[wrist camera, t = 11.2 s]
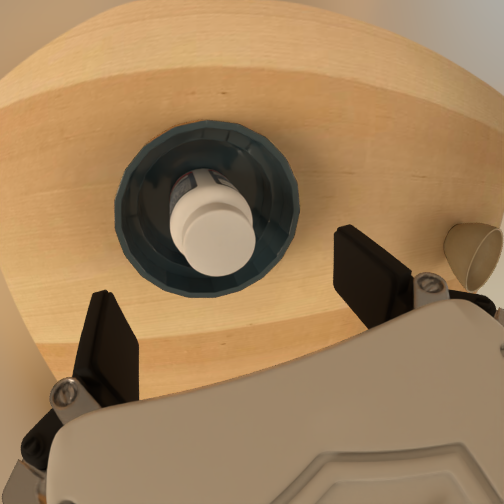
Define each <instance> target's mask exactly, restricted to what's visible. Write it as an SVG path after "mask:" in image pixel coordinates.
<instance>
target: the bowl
mask: <svg viewBox="0 0 504 504" xmlns="http://www.w3.org/2000/svg"><path fill="white" fill-rule="evenodd" d="M202 168H204V169H212V170H215V171H217V172H219V173H221V174H222V175H224V176H225V177H226V178H227V179H228V180H229V181H230V182H231V183H232V184H233V186H234V187H235V188H236V189H237V190H238V191H239V192H240V194H241V195H242V196H243V197H244V199H245V200H246V202H247V203H248V205H249V207H250V210H251V213H252V220H253V225H252V227H253V230H254V233H255V248H254V251H253V254H252V256H251V257H250V259H249V260H248V262H247V263H246V264H245V265H244V266H243V267H242V268H240V269H239V270H237V271H236V272H234V273H231V274H228V275H224V276H209V275H205V274H202V273H200V272H198V271H196V270H195V269H194V268H193V267H192V266H191V265H190V264H189V263H188V261H187V259H186V257H185V255H183V254H182V253H181V252H180V251H179V250H178V248H177V247H176V245H175V243H174V242H173V239H172V236H171V232H170V205H169V200H170V193H171V190H172V188H173V186H174V184H175V183H176V181H177V180H178V179H179V178H180V177H181V176H182V175H184V174H185V173H187V172H189V171H192V170H195V169H202ZM114 212H115V231H116V234H117V237H118V239H119V242H120V245H121V248H122V250H123V253H124V255H125V257H126V258H127V259H128V260H129V262H130V263H131V264H132V265H133V267H134V268H135V269H136V270H137V271H138V273H139V274H140V275H141V276H142V277H143V278H145V279H146V280H148V281H150V282H151V283H153V284H154V285H156V286H157V287H159V288H160V289H162V290H164V291H167V292H170V293H174V294H177V295H181V296H184V297H188V298H216V297H220V296H223V295H227V294H231V293H235V292H238V291H241V290H243V289H244V288H246V287H248V286H250V285H251V284H253V283H255V282H257V281H258V280H260V279H262V278H263V277H264V276H265V275H266V274H267V273H268V272H269V271H270V270H271V269H272V268H273V267H274V266H275V265H276V264H277V263H278V262H279V261H280V260H281V259H282V257H283V256H284V254H285V252H286V250H287V249H288V247H289V245H290V243H291V241H292V240H293V238H294V235H295V231H296V227H297V222H298V218H299V213H300V204H299V193H298V184H297V181H296V179H295V177H294V174H293V172H292V170H291V168H290V166H289V163H288V161H287V159H286V158H285V157H284V155H283V154H282V153H281V152H280V151H279V150H278V149H277V148H276V147H275V146H274V145H273V144H272V143H271V142H270V141H269V140H268V139H267V138H266V137H264V136H262V135H260V134H259V133H257V132H255V131H253V130H251V129H248V128H246V127H244V126H242V125H240V124H237V123H230V122H222V121H213V120H195V121H191V122H186V123H182V124H178V125H174V126H172V127H170V128H169V129H167V130H165V131H164V132H162V133H161V134H159V135H157V136H156V137H154V138H153V139H151V140H150V141H149V142H148V143H147V144H146V145H145V146H144V147H143V148H142V149H141V150H140V152H139V153H138V154H137V155H136V157H135V158H134V159H133V160H132V162H131V163H130V164H129V165H128V167H127V168H126V169H125V171H124V174H123V176H122V179H121V182H120V185H119V188H118V191H117V194H116V197H115V201H114Z"/></svg>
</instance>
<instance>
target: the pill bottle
mask: <svg viewBox="0 0 504 504" xmlns="http://www.w3.org/2000/svg"><path fill="white" fill-rule="evenodd" d="M169 205H170V232H171V236H172V239H173V242H174V243H175V245H176V247H177V248H178V250H179V251H180V252H181V253H182V254H183V255H185V257H186V259H187V261H188V263H189V264H190V265H191V266H192V267H193V268H194V269H195V270H196V271H198V272H200V273H202V274H205V275H209V276H224V275H228V274H231V273H234V272H236V271H237V270H239V269H240V268H242V267H243V266H244V265H245V264H246V263H247V262H248V260H249V259H250V257H251V256H252V254H253V251H254V248H255V233H254V230H253V227H252V225H253V220H252V213H251V210H250V207H249V205H248V203H247V202H246V200H245V199H244V197H243V196H242V195H241V194H240V192H239V191H238V190H237V189H236V188H235V187H234V186H233V184H232V183H231V182H230V181H229V180H228V179H227V178H226V177H225V176H224V175H222V174H221V173H219V172H217V171H215V170H212V169H204V168H202V169H195V170H192V171H189V172H187V173H185V174H184V175H182V176H181V177H180V178H179V179H178V180H177V181H176V183H175V184H174V186H173V188H172V190H171V193H170V200H169Z"/></svg>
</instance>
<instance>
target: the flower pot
mask: <svg viewBox="0 0 504 504" xmlns="http://www.w3.org/2000/svg"><path fill="white" fill-rule="evenodd" d="M502 247H503V234H502V231H501V230H500V229H499V228H496V227H494V226H491V225H487V224H482V223H463V224H458V225H455V226H454V227H453V228H452V229H451V230H450V231H449V233H448V235H447V237H446V239H445V243H444V252H445V255H446V258H447V260H448V263H449V265H450V267H451V269H452V271H453V273H454V274H455V276H456V278H457V279H458V280H459V282H460V283H461V284H462V286H463V287H464V288H465V289H466V290H467V291H468V292H469V293H473V292H475V291H477V290H479V289H480V288H481V287H482V286H483V285H484V284H485V283H486V282H487V280H488V279H489V278H490V276H491V275H492V273H493V271H494V269H495V267H496V265H497V263H498V261H499V258H500V255H501V252H502Z"/></svg>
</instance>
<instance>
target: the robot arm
mask: <svg viewBox="0 0 504 504" xmlns="http://www.w3.org/2000/svg"><path fill="white" fill-rule="evenodd" d="M411 272H412V271H411V270H410V269H409V268H407V267H406V266H405V265H404V264H402V263H401V262H400V261H399V260H397V259H396V258H395V257H394V256H392V255H391V254H390V253H389V252H387V251H386V250H385V249H383V248H382V247H381V246H379V245H378V244H377V243H375V242H374V241H373V240H371V239H370V238H369V237H367V236H366V235H365V234H363V233H362V232H361V231H359V230H358V229H357V228H355V227H354V226H353V225H351V224H349V225H345V226H342V227H338V228H337V231H336V232H335V233H334V271H333V285H334V288H335V290H336V291H337V293H338V294H339V295H340V296H341V297H342V298H343V300H344V301H345V302H346V303H347V304H348V306H349V307H350V308H351V309H352V310H353V311H354V313H355V314H356V315H357V316H358V317H359V319H360V320H361V321H362V322H363V323H364V325H365V326H366V327H367V328H368V329H369V330H367V331H364V332H362V333H360V334H357V335H355V336H353V337H350V338H348V339H345V340H343V341H340V342H338V343H335V344H333V345H330V346H328V347H325V348H323V349H320V350H317V351H315V352H312V353H309V354H307V355H304V356H301V357H298V358H295V359H293V360H290V361H287V362H284V363H281V364H278V365H275V366H272V367H269V368H266V369H262V370H259V371H256V372H253V373H249V374H246V375H243V376H239V377H236V378H232V379H229V380H225V381H222V382H218V383H214V384H210V385H206V386H202V387H198V388H194V389H190V390H186V391H182V392H177V393H172V394H168V395H163V396H159V397H154V398H149V399H144V400H139V344H138V341H137V339H136V337H135V335H134V333H133V331H132V330H131V328H130V326H129V324H128V322H127V320H126V318H125V317H124V315H123V313H122V311H121V309H120V307H119V305H118V303H117V301H116V299H115V297H114V295H113V293H112V292H109V293H108V291H107V290H103V291H99V292H95V293H93V294H92V297H91V301H90V304H89V308H88V311H87V315H86V319H85V323H84V327H83V330H82V333H81V337H80V342H79V346H78V350H77V355H76V360H75V365H74V370H73V375H72V377H66V378H63V379H61V380H60V381H58V382H57V383H56V384H55V385H54V386H53V388H52V390H51V393H50V403H51V406H52V409H51V410H50V411H49V412H48V413H47V414H46V415H45V416H44V417H43V418H42V419H41V420H40V421H39V422H38V423H37V424H36V425H35V426H34V427H33V428H32V429H31V430H30V431H29V433H28V434H27V435H26V436H25V437H24V438H23V441H22V443H21V454H22V457H23V460H22V461H21V460H19V459H18V461H17V463H16V466H15V467H14V469H13V471H12V473H11V476H10V478H9V480H8V482H7V484H6V486H5V488H4V490H3V494H2V502H3V504H504V309H502V308H499V309H498V310H496V307H495V304H494V303H493V302H492V301H491V300H490V299H489V298H488V297H486V296H483V295H479V294H473V293H467V292H461V291H455V290H449V289H448V286H447V283H446V281H445V280H444V279H443V278H442V277H440V276H439V275H437V274H434V273H430V272H424V273H420V274H418V275H416V276H415V278H414V277H412V276H411Z"/></svg>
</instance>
